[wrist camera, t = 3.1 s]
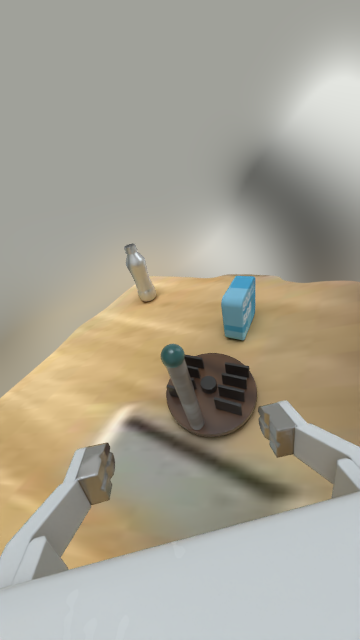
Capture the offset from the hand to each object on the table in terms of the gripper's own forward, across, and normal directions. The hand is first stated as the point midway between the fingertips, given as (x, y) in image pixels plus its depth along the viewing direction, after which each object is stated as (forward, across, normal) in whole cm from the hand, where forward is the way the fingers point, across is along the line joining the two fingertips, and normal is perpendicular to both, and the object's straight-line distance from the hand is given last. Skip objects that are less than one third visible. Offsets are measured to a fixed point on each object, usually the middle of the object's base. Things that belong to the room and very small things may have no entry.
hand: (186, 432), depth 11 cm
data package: (+39, -19, +14) cm, 46 cm away
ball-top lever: (+23, -6, +18) cm, 30 cm away
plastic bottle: (+66, +5, +8) cm, 67 cm away
